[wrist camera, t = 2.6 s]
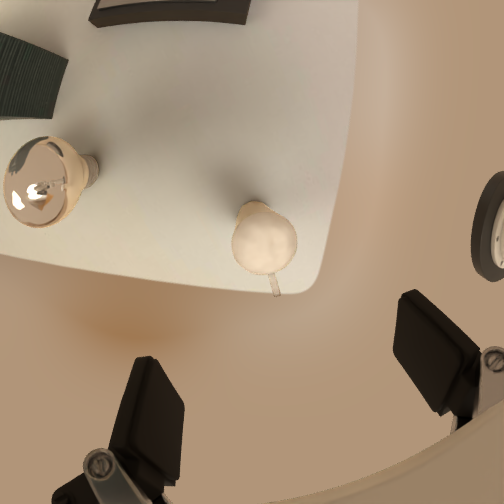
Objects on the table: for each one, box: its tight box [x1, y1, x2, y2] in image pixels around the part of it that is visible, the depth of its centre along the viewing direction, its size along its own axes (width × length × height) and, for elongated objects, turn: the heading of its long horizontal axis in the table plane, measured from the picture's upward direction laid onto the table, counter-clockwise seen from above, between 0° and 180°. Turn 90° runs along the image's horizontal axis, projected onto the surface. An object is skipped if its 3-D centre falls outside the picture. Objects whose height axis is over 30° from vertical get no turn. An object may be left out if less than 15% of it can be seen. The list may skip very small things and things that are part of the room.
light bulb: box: [3, 136, 99, 228], centre depth 17 cm, size 7×7×12 cm
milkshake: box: [232, 201, 297, 297], centre depth 22 cm, size 5×5×10 cm
